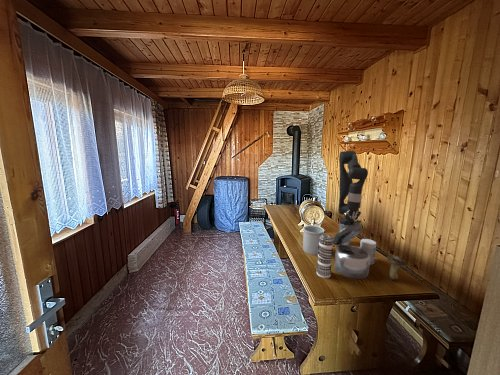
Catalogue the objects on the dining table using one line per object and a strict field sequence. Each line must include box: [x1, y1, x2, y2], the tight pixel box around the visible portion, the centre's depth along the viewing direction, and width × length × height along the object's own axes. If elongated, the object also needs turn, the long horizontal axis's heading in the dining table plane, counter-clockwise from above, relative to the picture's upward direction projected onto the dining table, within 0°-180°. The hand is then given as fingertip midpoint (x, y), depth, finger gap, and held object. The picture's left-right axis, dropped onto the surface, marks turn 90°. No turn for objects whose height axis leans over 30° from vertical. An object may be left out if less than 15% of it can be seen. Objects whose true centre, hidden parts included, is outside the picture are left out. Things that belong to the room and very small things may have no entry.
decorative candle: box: [315, 233, 335, 279], centre depth 131 cm, size 9×9×25 cm
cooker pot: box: [333, 244, 371, 280], centre depth 138 cm, size 20×21×12 cm
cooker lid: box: [332, 220, 363, 246], centre depth 140 cm, size 21×24×3 cm
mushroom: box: [386, 254, 407, 282], centre depth 127 cm, size 9×9×15 cm
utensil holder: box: [302, 224, 325, 256], centre depth 162 cm, size 15×15×18 cm
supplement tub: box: [359, 238, 377, 266], centre depth 147 cm, size 10×10×15 cm
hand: (350, 226), depth 136 cm, fingers closed
